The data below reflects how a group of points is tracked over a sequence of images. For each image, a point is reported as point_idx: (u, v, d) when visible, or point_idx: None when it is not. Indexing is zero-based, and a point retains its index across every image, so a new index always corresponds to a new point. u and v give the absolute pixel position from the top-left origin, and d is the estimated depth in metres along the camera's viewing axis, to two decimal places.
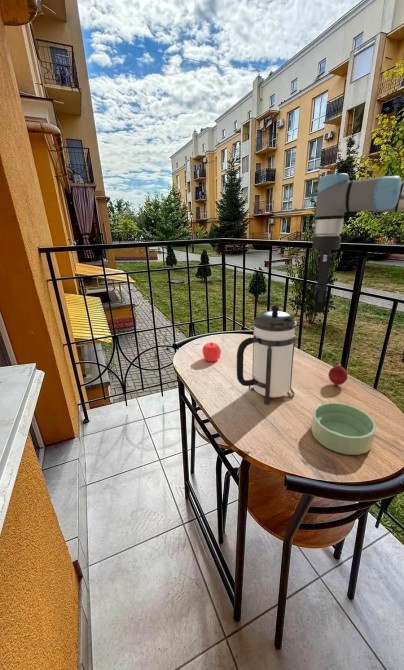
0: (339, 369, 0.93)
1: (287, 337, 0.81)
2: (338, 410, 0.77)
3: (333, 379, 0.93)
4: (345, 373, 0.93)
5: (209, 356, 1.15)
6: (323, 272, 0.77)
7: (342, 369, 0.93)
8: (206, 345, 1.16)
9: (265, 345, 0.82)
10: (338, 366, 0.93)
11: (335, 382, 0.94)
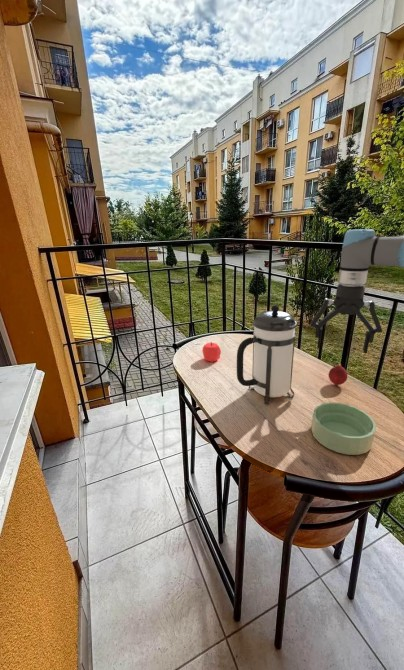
0: (339, 369, 0.93)
1: (287, 337, 0.81)
2: (338, 410, 0.77)
3: (333, 379, 0.93)
4: (345, 373, 0.93)
5: (209, 356, 1.15)
6: (376, 316, 0.84)
7: (342, 369, 0.93)
8: (206, 345, 1.16)
9: (265, 345, 0.82)
10: (338, 366, 0.93)
11: (335, 382, 0.94)
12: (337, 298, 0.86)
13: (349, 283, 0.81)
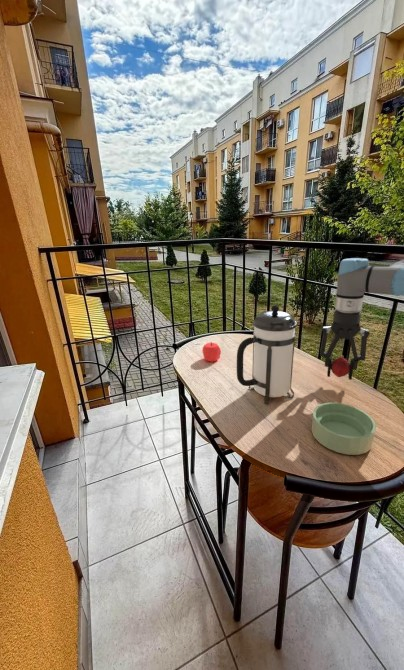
0: (342, 360, 0.91)
1: (287, 337, 0.81)
2: (338, 410, 0.77)
3: (335, 371, 0.92)
4: (347, 364, 0.91)
5: (209, 356, 1.15)
6: (365, 345, 0.88)
7: (344, 360, 0.91)
8: (206, 345, 1.16)
9: (265, 345, 0.82)
10: (340, 357, 0.92)
11: (337, 374, 0.92)
12: (334, 323, 0.89)
13: (345, 310, 0.84)
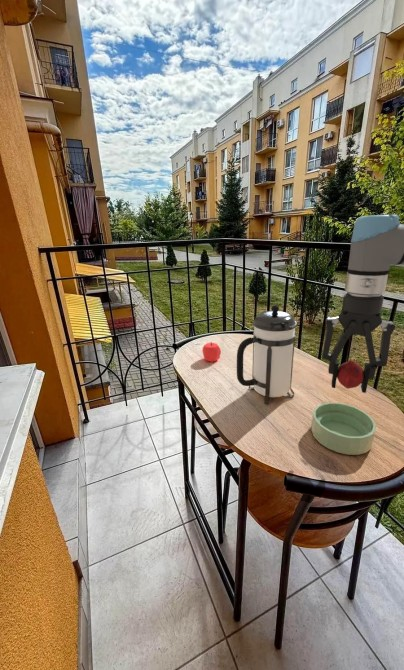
0: (353, 365, 0.65)
1: (287, 337, 0.81)
2: (338, 410, 0.77)
3: (344, 380, 0.65)
4: (361, 371, 0.64)
5: (209, 356, 1.15)
6: None
7: (357, 366, 0.65)
8: (206, 345, 1.16)
9: (265, 345, 0.82)
10: (351, 361, 0.65)
11: (346, 384, 0.65)
12: (344, 313, 0.62)
13: (361, 292, 0.57)
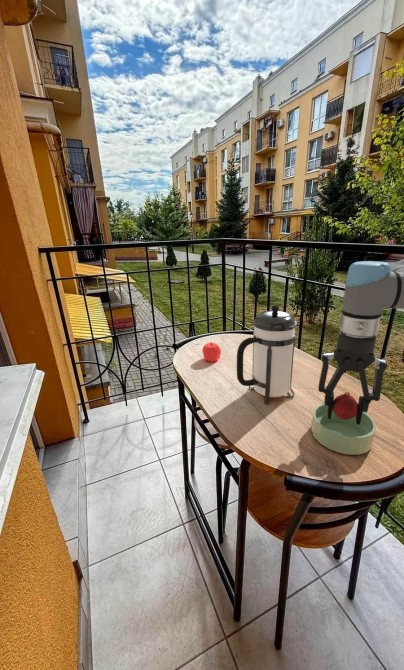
0: (347, 399, 0.68)
1: (287, 337, 0.81)
2: None
3: (339, 413, 0.68)
4: (355, 405, 0.67)
5: (209, 356, 1.15)
6: None
7: (351, 399, 0.68)
8: (206, 345, 1.16)
9: (265, 345, 0.82)
10: (346, 395, 0.68)
11: (341, 417, 0.68)
12: (339, 350, 0.65)
13: (355, 334, 0.60)
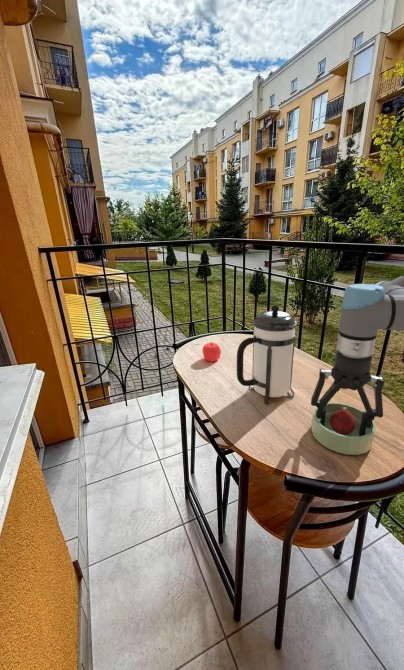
0: (345, 415, 0.69)
1: (287, 337, 0.81)
2: None
3: (336, 428, 0.70)
4: (352, 421, 0.69)
5: (209, 356, 1.15)
6: None
7: (348, 415, 0.69)
8: (206, 345, 1.16)
9: (265, 345, 0.82)
10: (343, 411, 0.70)
11: (339, 432, 0.70)
12: (336, 369, 0.66)
13: (351, 354, 0.61)
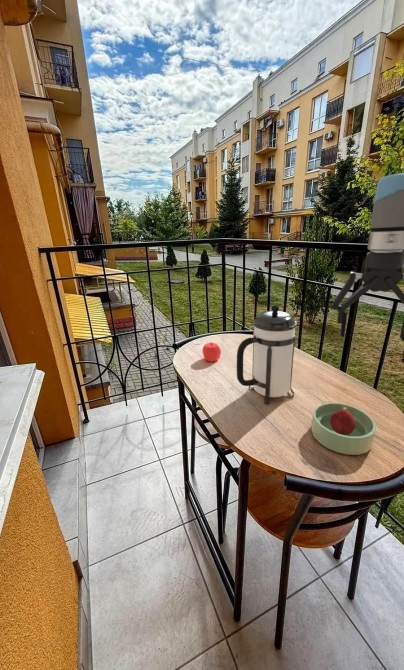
0: (345, 415, 0.69)
1: (287, 337, 0.81)
2: None
3: (336, 428, 0.70)
4: (352, 421, 0.69)
5: (209, 356, 1.15)
6: None
7: (348, 415, 0.69)
8: (206, 345, 1.16)
9: (265, 345, 0.82)
10: (343, 411, 0.70)
11: (339, 432, 0.70)
12: (367, 270, 0.66)
13: (385, 248, 0.61)
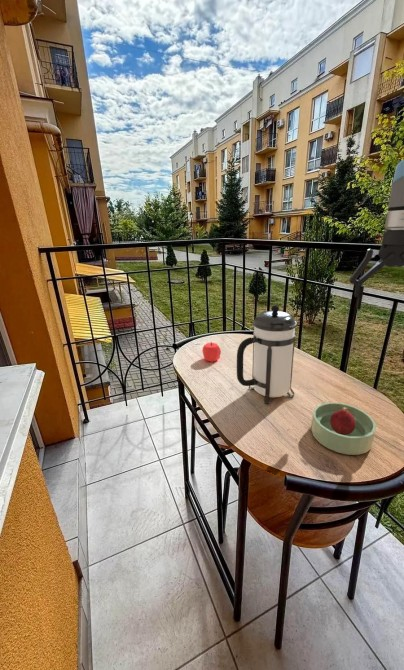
0: (345, 415, 0.69)
1: (287, 337, 0.81)
2: None
3: (336, 428, 0.70)
4: (352, 421, 0.69)
5: (209, 356, 1.15)
6: None
7: (348, 415, 0.69)
8: (206, 345, 1.16)
9: (265, 345, 0.82)
10: (343, 411, 0.70)
11: (339, 432, 0.70)
12: (384, 247, 0.73)
13: (401, 225, 0.68)
